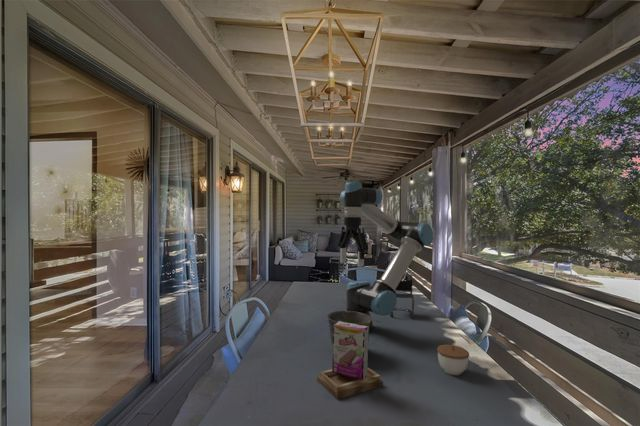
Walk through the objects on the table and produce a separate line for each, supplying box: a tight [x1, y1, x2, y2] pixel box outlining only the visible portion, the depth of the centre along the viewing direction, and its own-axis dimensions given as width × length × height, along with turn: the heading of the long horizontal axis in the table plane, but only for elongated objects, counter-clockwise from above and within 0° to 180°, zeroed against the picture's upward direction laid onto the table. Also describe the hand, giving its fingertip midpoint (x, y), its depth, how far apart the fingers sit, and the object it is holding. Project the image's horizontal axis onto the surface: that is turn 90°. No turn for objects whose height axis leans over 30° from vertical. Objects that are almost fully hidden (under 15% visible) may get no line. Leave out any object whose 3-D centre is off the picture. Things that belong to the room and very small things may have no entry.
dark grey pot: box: [326, 310, 373, 347], centre depth 133 cm, size 18×18×15 cm
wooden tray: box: [316, 366, 384, 400], centre depth 109 cm, size 18×13×3 cm
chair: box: [389, 273, 415, 319], centre depth 189 cm, size 13×17×22 cm
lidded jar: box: [437, 344, 470, 376], centre depth 119 cm, size 11×11×9 cm
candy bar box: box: [331, 321, 370, 380], centre depth 109 cm, size 11×5×16 cm, turn 65°
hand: (351, 264), depth 144 cm, fingers open, 13 cm apart
